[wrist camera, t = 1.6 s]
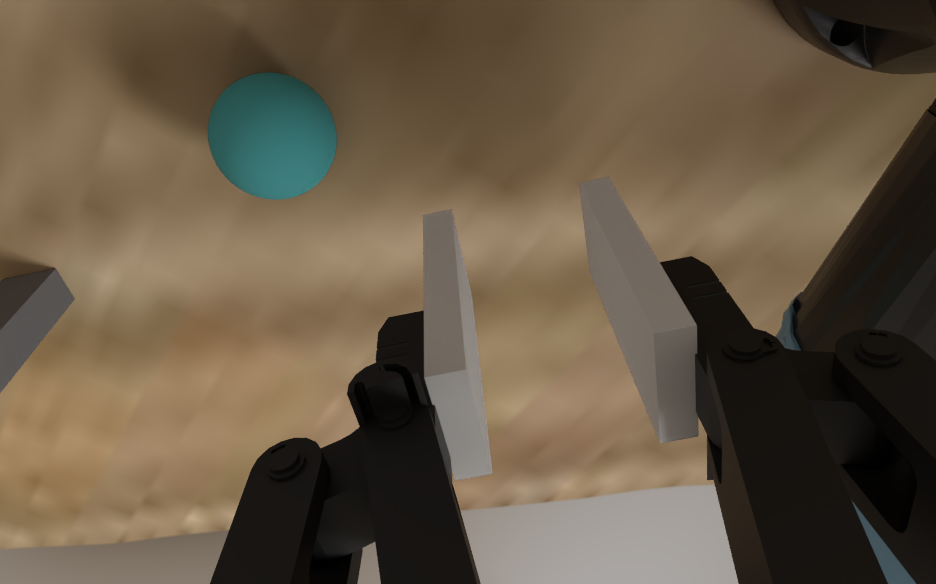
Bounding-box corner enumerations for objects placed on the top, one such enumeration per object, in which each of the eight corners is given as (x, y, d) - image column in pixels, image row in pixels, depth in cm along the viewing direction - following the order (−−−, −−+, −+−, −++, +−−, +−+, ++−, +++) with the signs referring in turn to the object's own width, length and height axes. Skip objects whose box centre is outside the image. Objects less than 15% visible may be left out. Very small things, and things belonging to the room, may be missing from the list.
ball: (322, 47, 31) (304, 79, 26) (356, 159, 34) (345, 206, 29) (206, 72, 31) (169, 109, 26) (250, 181, 34) (223, 231, 29)
